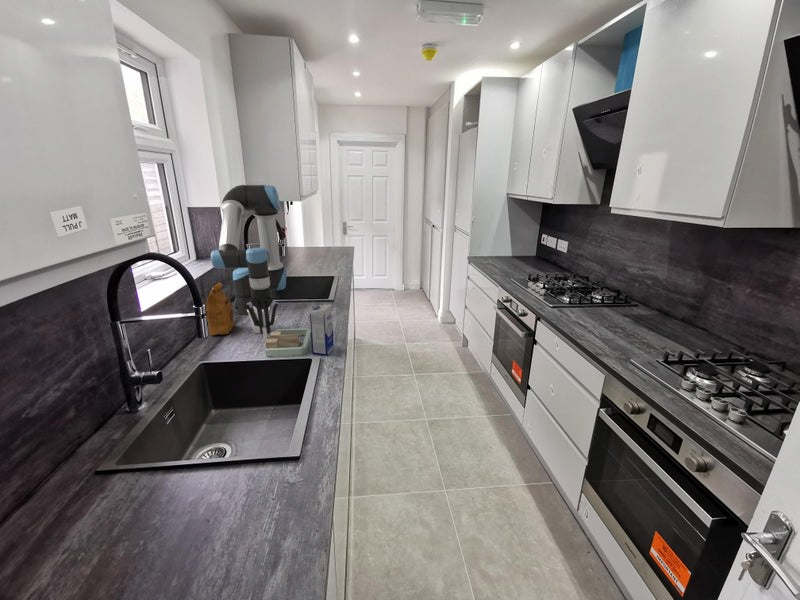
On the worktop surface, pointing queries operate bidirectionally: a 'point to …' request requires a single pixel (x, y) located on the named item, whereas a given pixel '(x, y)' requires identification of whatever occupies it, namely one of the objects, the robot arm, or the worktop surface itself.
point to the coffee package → (219, 312)
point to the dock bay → (291, 350)
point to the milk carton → (321, 330)
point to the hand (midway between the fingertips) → (266, 340)
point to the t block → (282, 340)
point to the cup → (257, 328)
